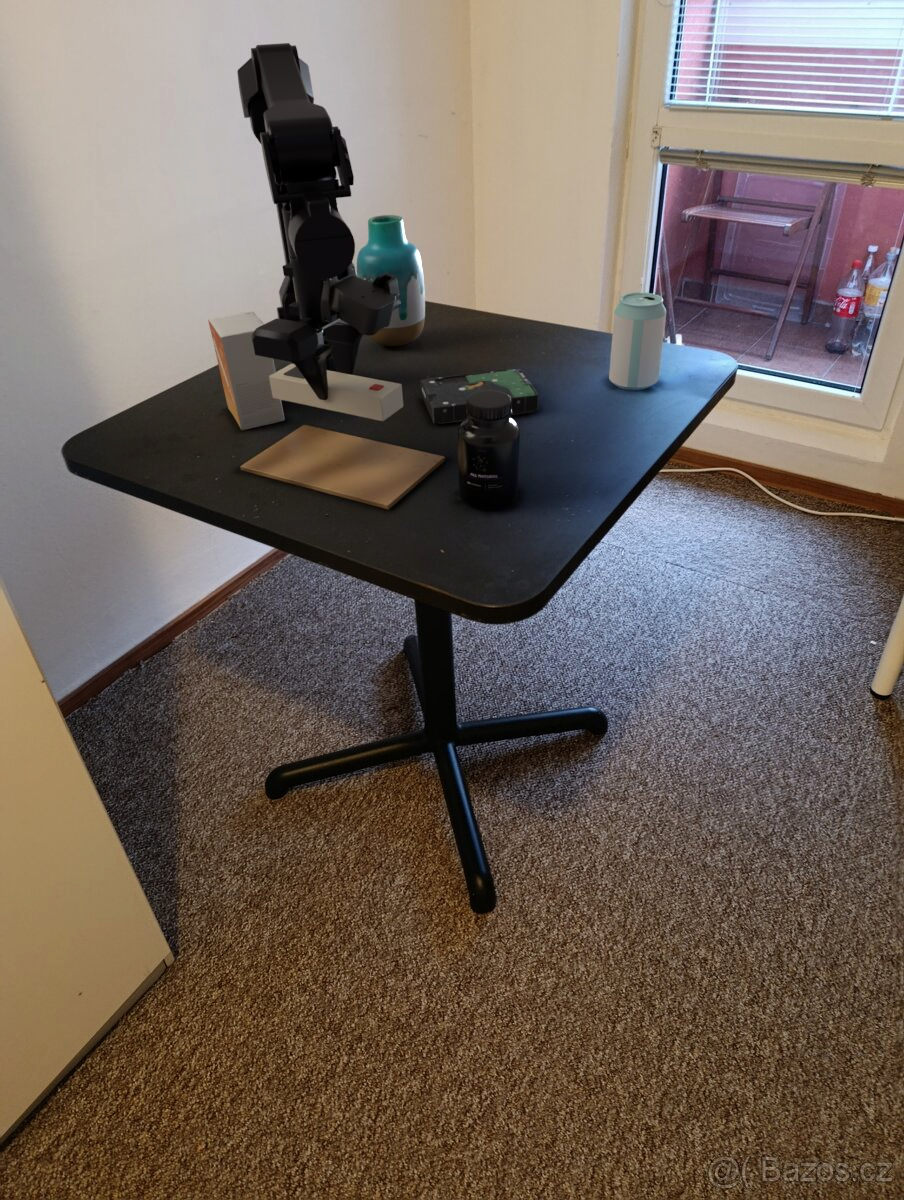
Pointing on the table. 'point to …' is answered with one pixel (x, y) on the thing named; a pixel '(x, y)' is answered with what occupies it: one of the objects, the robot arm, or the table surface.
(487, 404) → the supplement bottle
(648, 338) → the can
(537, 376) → the table surface
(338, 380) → the remote
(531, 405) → the disk drive
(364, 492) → the cork mat
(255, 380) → the small box
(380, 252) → the vase
